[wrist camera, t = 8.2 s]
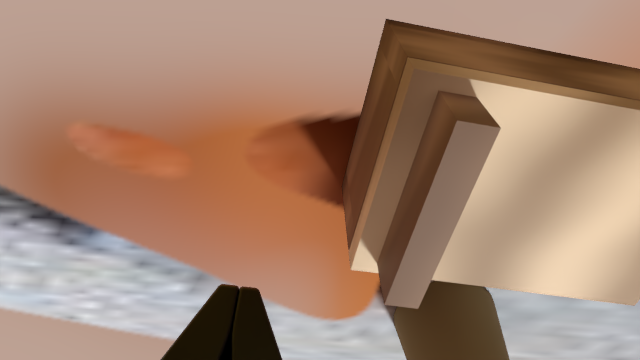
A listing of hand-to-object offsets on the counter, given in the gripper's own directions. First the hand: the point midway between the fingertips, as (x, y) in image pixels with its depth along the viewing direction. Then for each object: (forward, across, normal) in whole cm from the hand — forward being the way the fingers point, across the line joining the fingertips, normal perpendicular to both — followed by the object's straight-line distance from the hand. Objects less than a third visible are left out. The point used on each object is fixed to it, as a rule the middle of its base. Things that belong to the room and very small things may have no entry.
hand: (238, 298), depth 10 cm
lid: (+7, -10, 0) cm, 12 cm away
